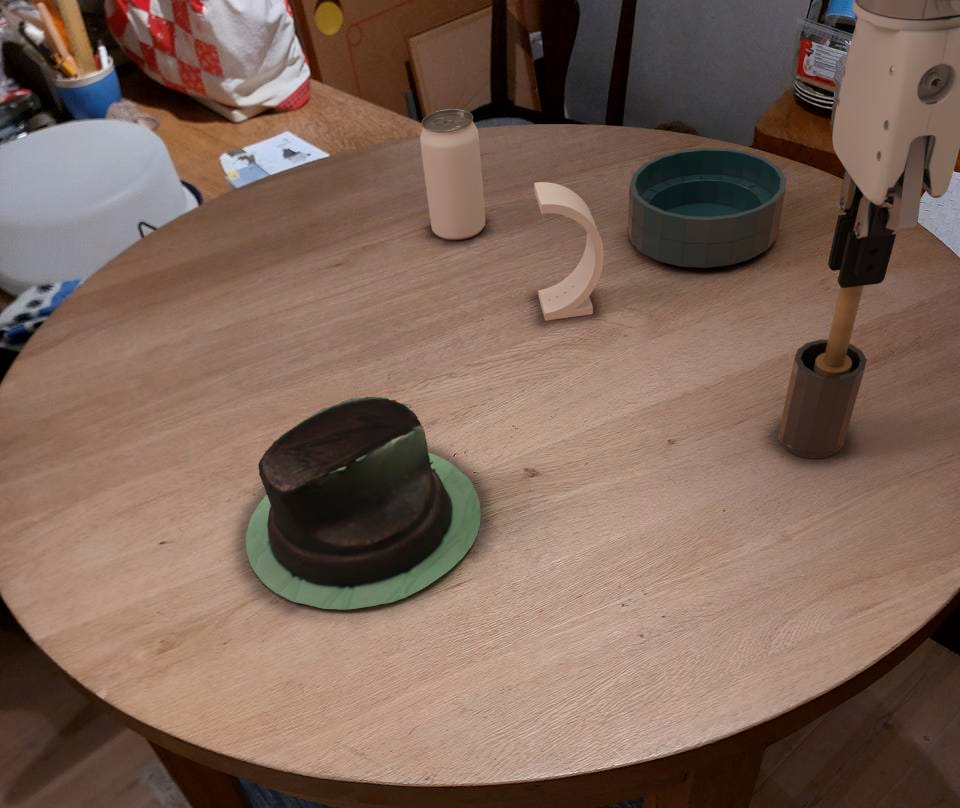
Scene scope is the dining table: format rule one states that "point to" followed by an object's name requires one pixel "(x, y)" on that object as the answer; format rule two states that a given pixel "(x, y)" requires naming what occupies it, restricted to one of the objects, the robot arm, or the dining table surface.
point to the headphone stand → (577, 287)
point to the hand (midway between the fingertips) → (855, 273)
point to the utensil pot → (819, 403)
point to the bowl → (705, 207)
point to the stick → (841, 330)
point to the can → (453, 174)
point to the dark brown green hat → (358, 508)
